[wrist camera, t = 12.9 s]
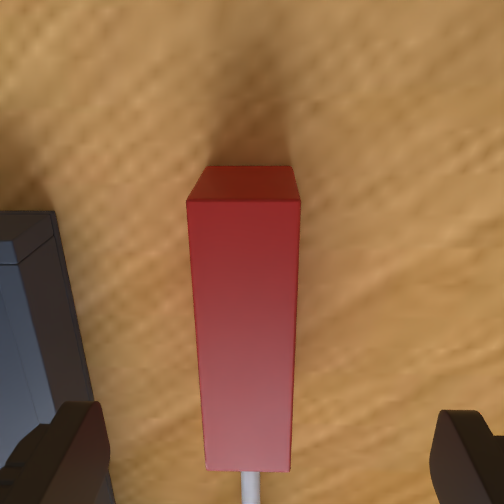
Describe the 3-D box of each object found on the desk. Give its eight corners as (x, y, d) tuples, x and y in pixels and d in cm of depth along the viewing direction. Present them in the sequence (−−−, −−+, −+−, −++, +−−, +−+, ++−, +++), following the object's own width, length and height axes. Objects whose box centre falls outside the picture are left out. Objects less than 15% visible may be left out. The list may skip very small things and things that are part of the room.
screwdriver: (205, 165, 15) (185, 199, 11) (292, 165, 15) (301, 199, 11) (224, 535, 23) (217, 626, 19) (281, 537, 23) (284, 628, 19)
